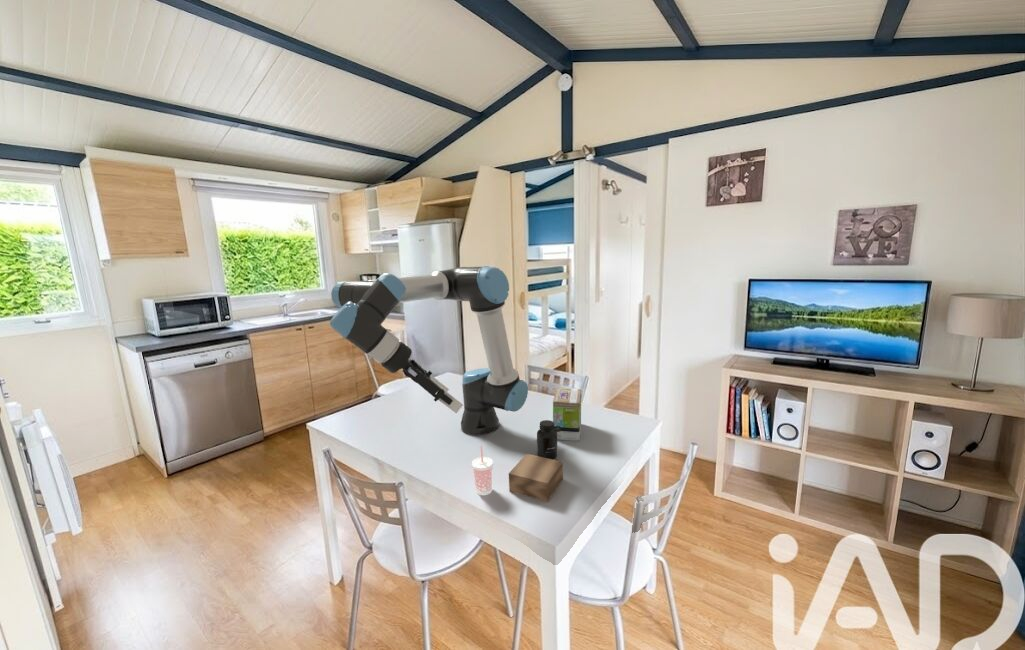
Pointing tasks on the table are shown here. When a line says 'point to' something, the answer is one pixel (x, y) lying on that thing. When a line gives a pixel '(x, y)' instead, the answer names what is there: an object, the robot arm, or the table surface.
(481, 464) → the beverage cup
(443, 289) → the robot arm
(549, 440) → the supplement bottle
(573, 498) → the table surface
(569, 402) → the tea box
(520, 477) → the walnut block
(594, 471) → the table surface
